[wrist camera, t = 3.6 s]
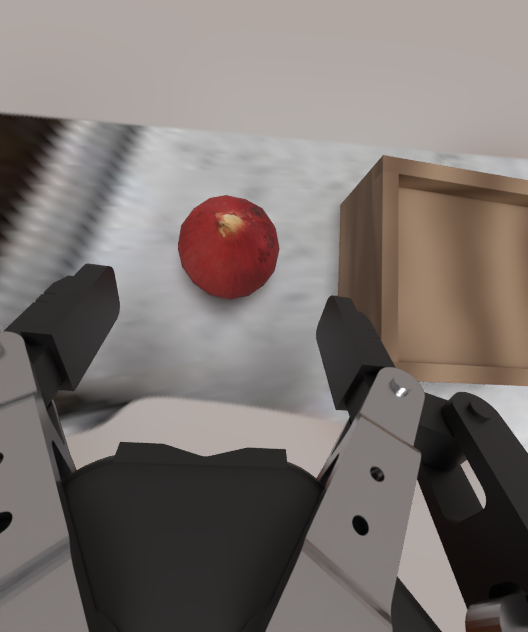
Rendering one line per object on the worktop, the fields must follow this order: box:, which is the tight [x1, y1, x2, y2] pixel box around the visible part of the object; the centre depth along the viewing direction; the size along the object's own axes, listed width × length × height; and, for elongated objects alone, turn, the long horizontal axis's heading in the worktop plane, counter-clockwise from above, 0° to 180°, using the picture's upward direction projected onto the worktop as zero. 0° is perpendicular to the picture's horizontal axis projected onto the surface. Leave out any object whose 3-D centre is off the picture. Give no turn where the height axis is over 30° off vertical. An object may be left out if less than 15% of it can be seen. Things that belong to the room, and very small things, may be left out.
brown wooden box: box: [338, 155, 528, 386], centre depth 20 cm, size 13×13×6 cm
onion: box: [178, 195, 279, 299], centre depth 16 cm, size 6×6×8 cm
